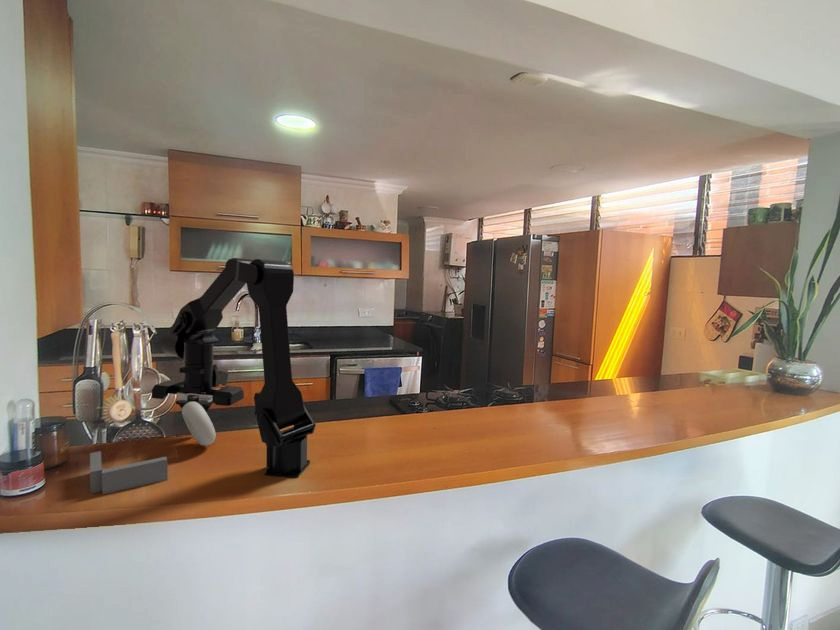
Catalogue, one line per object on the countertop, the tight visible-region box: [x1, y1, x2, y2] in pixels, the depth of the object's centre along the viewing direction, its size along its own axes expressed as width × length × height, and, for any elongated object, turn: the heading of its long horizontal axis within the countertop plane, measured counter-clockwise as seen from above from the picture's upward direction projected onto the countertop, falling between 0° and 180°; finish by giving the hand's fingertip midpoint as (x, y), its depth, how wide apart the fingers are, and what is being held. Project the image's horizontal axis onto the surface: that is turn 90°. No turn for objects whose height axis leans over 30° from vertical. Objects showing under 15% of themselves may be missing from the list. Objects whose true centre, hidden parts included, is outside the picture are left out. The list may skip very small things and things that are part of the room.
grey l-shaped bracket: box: [89, 450, 169, 495], centre depth 69 cm, size 15×7×4 cm, turn 84°
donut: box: [181, 401, 217, 446], centre depth 85 cm, size 10×4×10 cm, turn 47°
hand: (198, 429), depth 91 cm, fingers closed
